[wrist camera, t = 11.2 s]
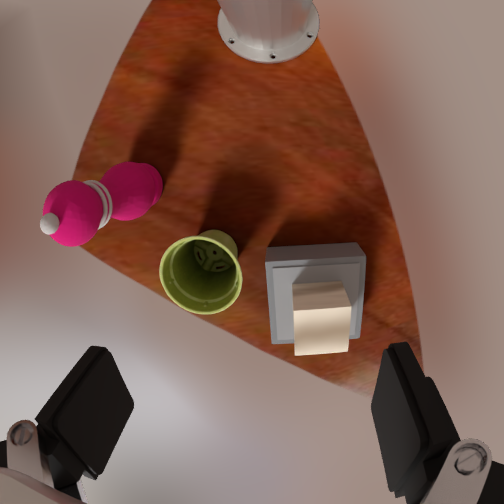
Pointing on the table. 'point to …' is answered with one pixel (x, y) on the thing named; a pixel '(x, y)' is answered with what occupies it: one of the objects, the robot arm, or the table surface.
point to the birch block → (321, 318)
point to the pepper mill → (99, 202)
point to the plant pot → (202, 272)
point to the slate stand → (312, 281)
